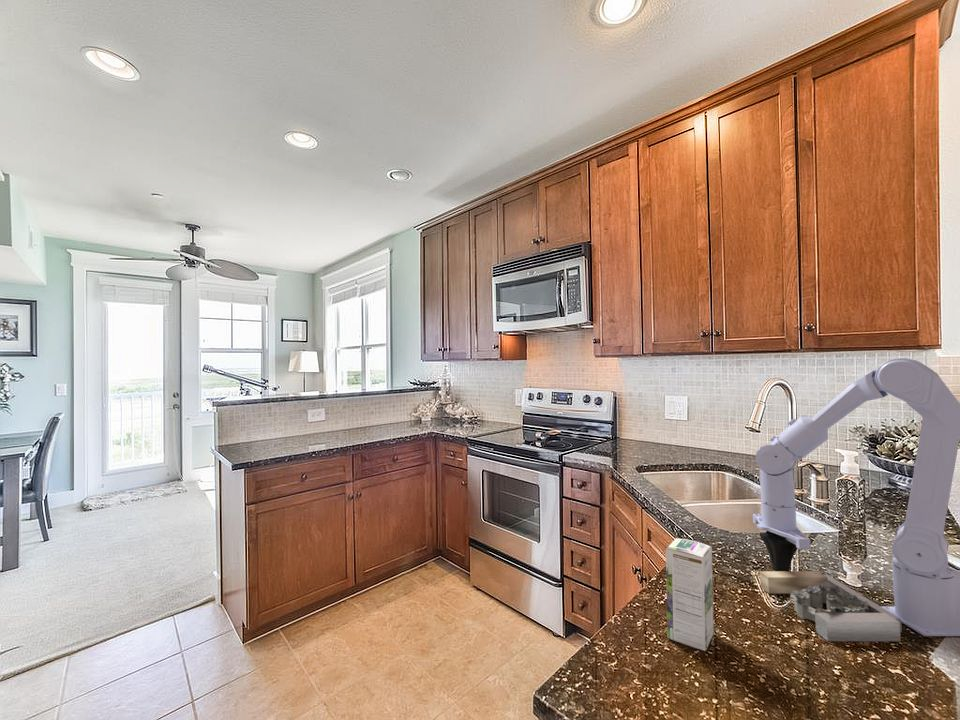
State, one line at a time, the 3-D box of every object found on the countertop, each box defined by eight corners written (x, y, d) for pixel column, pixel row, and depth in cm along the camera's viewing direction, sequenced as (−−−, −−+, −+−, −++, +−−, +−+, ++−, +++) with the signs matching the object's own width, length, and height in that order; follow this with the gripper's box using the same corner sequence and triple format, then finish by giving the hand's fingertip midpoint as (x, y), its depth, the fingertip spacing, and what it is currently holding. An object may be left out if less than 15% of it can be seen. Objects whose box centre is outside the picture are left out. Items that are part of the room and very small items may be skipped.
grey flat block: (827, 584, 84) (826, 569, 84) (917, 641, 66) (916, 621, 66) (757, 584, 85) (756, 569, 85) (827, 641, 67) (826, 621, 67)
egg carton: (831, 635, 69) (830, 609, 69) (785, 611, 76) (783, 587, 76) (875, 621, 72) (873, 597, 72) (827, 599, 79) (825, 577, 79)
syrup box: (676, 622, 73) (673, 536, 73) (715, 635, 69) (712, 544, 70) (667, 639, 68) (663, 547, 69) (708, 653, 65) (704, 556, 65)
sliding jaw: (818, 586, 83) (817, 571, 84) (828, 593, 81) (827, 577, 81) (760, 586, 84) (760, 571, 84) (768, 593, 81) (768, 577, 81)
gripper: (737, 493, 94) (740, 556, 93) (781, 515, 79) (785, 589, 79) (770, 493, 94) (773, 556, 93) (820, 514, 79) (824, 589, 79)
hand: (781, 571), depth 86 cm, fingers closed
